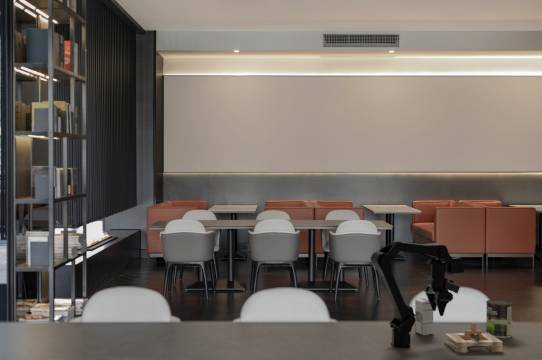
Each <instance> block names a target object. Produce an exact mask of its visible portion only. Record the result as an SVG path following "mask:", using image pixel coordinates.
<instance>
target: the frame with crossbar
mask: <svg viewBox="0 0 542 360" xmlns="http://www.w3.org/2000/svg"><path fill="white" fill-rule="evenodd" d="M464 335H465V332H455V333H454V332H448V333H447V332H445V333H444V344H445V345H447V346H448V347H449V348H450V347H451V348H450V349H452V350H453V351H454V352H455V353H462V354H464V353H468V347H484V348H486V349H488V350H489V351H490V352H492V353H503V349H504V348H503V346H504V342H503V341H502V340H500V338H496V337H494V336H493V335H491V334H490V333H486V332H482V340H480V338H479V337H478V336H477V335H476V334H470V340H464ZM471 339H473V340H471Z"/></svg>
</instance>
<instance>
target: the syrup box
mask: <svg viewBox="0 0 542 360" xmlns="http://www.w3.org/2000/svg"><path fill="white" fill-rule="evenodd" d="M414 301H415V302H414V307H415V308H414V309H415V310H414V314H415V315H416V316H415V319H416V321H415V323H414V325H415V326H414V329H415V330H414V332H415V333H416V334H418V333H419V335H421V336H430V335H429V334H432V335H434V311H433V310H432V307H431V305H430V302H429V300H428V298H417V299H415V300H414Z"/></svg>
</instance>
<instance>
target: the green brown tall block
mask: <svg viewBox="0 0 542 360" xmlns="http://www.w3.org/2000/svg"><path fill="white" fill-rule="evenodd" d="M485 302H486V324H485V326H486V327H485V328H486V329H485V333H490V334H491V335H493V336H494V337H496V338H497V339H507V338H508V339H509V338H511V337H512V313H513V312H512V311H513V309H512V307H513V303H512V302H511V301H508V300H505V299H503V300H502V299H488V300H486V301H485Z"/></svg>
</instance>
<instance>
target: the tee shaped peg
mask: <svg viewBox="0 0 542 360" xmlns="http://www.w3.org/2000/svg"><path fill="white" fill-rule="evenodd" d="M464 330H465V331H464V333H465V335H464V339H463V340H471V339H470V334H476V335H477V336H478V337H479V338H480V340H482V333H483V332H482V330H481V329H477V322H473V321H471V322H470V329H464Z"/></svg>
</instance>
